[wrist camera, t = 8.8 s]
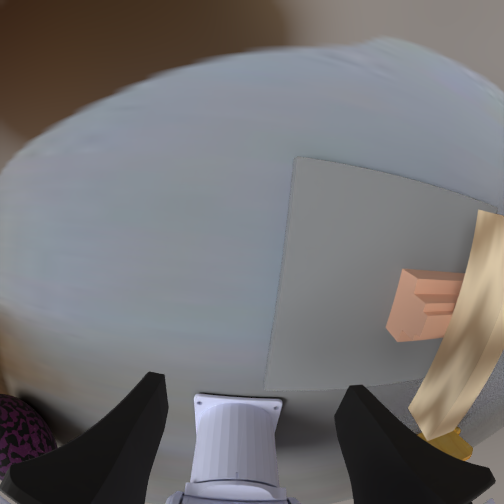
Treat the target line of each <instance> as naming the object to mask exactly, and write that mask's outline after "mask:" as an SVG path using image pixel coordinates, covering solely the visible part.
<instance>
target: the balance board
mask: <svg viewBox="0 0 504 504" xmlns="http://www.w3.org/2000/svg"><path fill="white" fill-rule="evenodd" d="M478 210H482V211H486V212H490V213H494V214H497V207H494V206H492V205H489V204H486V203H484V202H481V201H478V200H476V199H473V198H470V197H467V196H464V195H461V194H458V193H455V192H452V191H449V190H446V189H443V188H440V187H436V186H433V185H430V184H426V183H423V182H419V181H416V180H412V179H408V178H404V177H400V176H396V175H392V174H388V173H384V172H380V171H375V170H371V169H366V168H361V167H357V166H352V165H346V164H341V163H336V162H330V161H324V160H318V159H312V158H305V157H298V156H297V157H295V158H294V162H293V172H292V181H291V190H290V199H289V208H288V217H287V225H286V233H285V241H284V249H283V257H282V264H281V272H280V279H279V286H278V293H277V300H276V307H275V314H274V321H273V327H272V334H271V340H270V346H269V353H268V359H267V365H266V371H265V377H264V391H318V390H337V389H348V387H349V385H364V386H365V387H371V386H379V385H387V384H394V383H400V382H406V381H412V380H418V379H423V378H425V376H426V375H427V373H428V371H429V368H430V366H431V364H432V362H433V360H434V358H435V356H436V354H437V351H438V349H439V347H440V345H441V342H442V340H443V338H444V335H445V333H446V330H447V328H448V325H449V322H450V320H451V317H452V314H453V311H454V309H455V306H456V303H457V300H458V296H459V293H460V290H461V287H462V283H463V280H464V276H465V273H466V269H467V265H468V261H469V257H470V252H471V248H472V243H473V238H474V233H475V227H476V221H477V215H478Z"/></svg>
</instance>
